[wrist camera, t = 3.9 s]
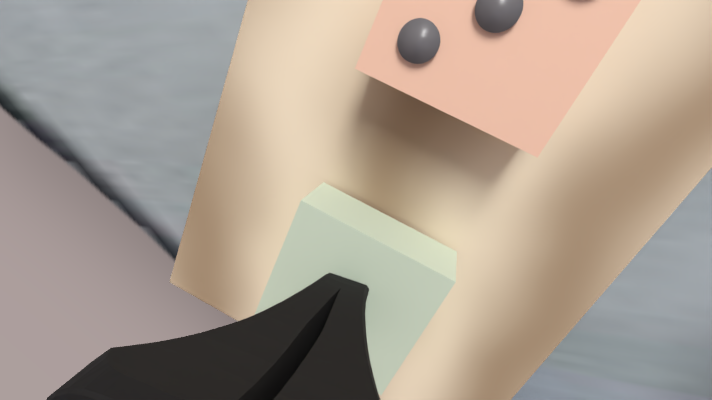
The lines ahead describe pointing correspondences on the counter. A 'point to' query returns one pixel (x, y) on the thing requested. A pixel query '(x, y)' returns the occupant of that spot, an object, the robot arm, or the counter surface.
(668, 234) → the counter surface
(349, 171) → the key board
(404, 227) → the tile one
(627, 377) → the counter surface
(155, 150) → the counter surface
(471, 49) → the tile three
